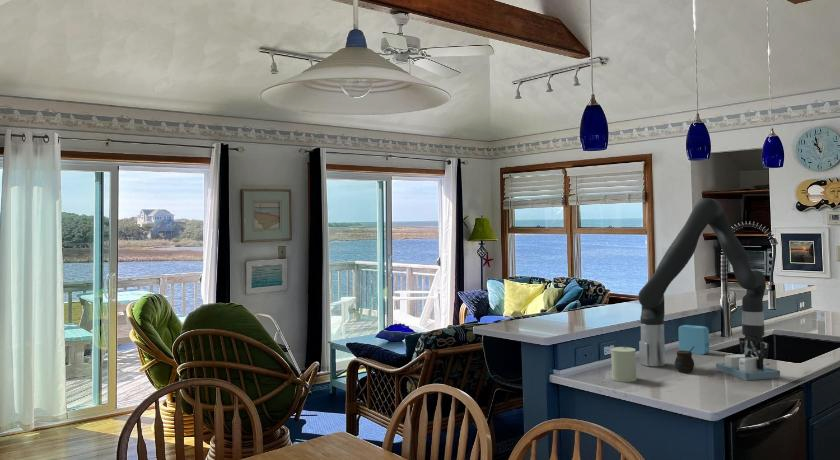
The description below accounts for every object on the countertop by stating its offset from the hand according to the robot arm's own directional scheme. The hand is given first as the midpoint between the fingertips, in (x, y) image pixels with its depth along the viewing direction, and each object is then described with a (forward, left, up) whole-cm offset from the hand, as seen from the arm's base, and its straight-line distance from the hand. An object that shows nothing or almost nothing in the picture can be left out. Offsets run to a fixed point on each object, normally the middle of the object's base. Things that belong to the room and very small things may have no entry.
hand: (754, 367), depth 241 cm
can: (-48, +10, -4) cm, 49 cm away
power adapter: (0, 0, -3) cm, 3 cm away
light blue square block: (+4, +45, -4) cm, 46 cm away
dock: (0, +4, -3) cm, 5 cm away
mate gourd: (-20, +14, -4) cm, 25 cm away
